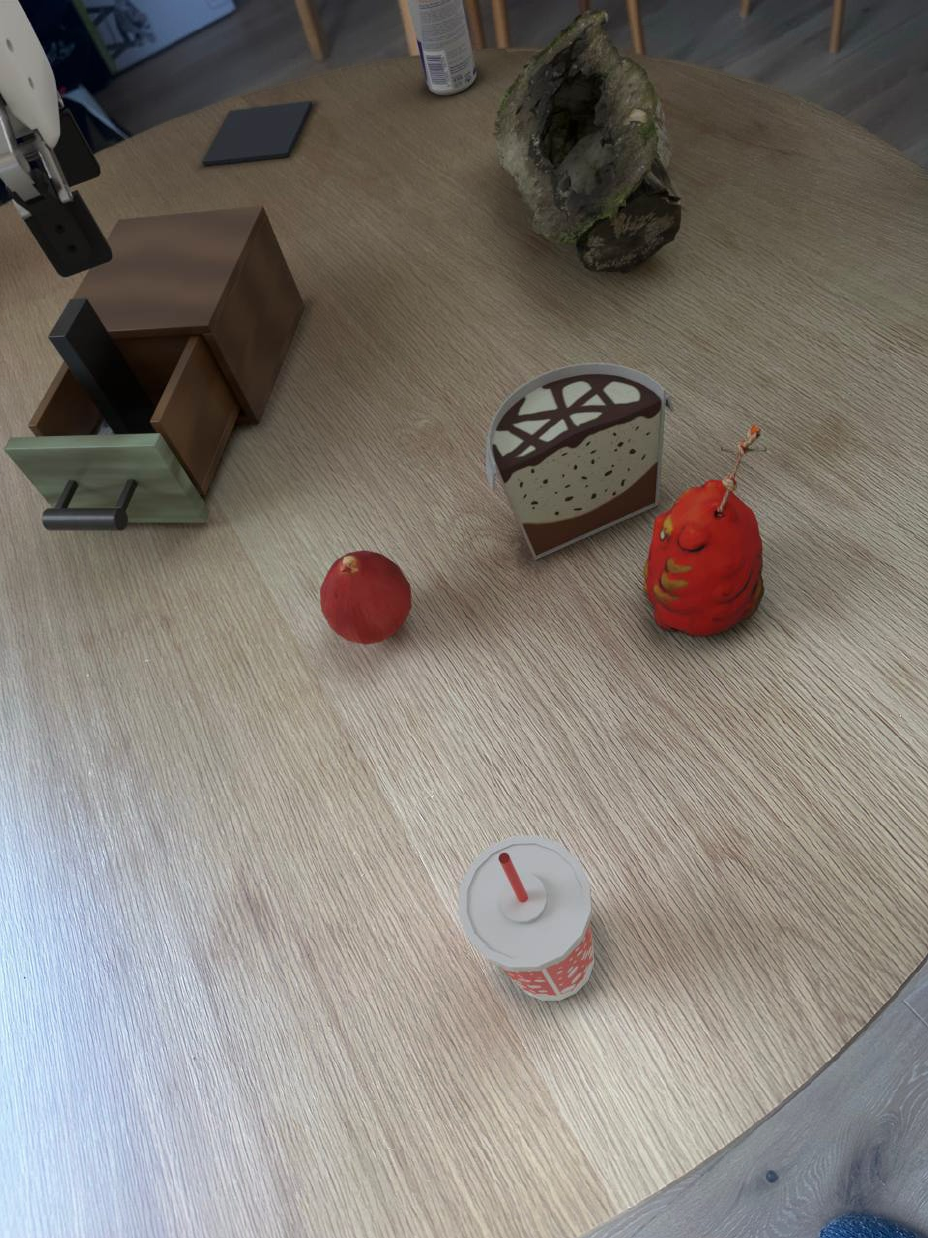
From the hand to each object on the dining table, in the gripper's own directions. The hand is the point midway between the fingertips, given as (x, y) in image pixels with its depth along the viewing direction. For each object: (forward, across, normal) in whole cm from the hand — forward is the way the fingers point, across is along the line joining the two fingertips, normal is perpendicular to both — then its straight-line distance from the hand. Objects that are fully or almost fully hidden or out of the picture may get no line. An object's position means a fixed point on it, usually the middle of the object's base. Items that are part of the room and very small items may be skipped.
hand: (83, 221), depth 58 cm
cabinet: (+24, -16, 0) cm, 28 cm away
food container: (+24, +14, +23) cm, 36 cm away
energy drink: (+24, -48, +32) cm, 62 cm away
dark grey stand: (+22, -5, -5) cm, 23 cm away
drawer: (+23, -4, -6) cm, 24 cm away
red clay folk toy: (+24, +25, +27) cm, 44 cm away
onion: (+24, +18, +7) cm, 31 cm away
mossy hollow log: (+24, -16, +36) cm, 46 cm away
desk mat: (+24, -52, +11) cm, 58 cm away
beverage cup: (+24, +42, +11) cm, 50 cm away
